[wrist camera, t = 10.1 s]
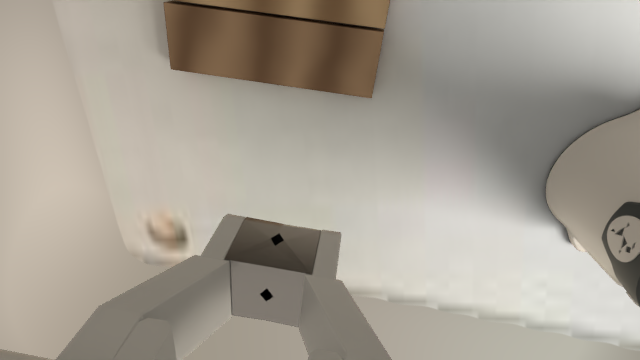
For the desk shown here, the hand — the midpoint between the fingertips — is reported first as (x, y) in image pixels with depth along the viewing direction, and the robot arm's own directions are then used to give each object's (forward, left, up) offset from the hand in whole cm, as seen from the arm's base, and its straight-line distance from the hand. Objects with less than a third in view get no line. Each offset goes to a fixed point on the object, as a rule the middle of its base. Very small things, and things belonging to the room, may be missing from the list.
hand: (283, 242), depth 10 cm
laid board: (+7, +2, -29) cm, 30 cm away
